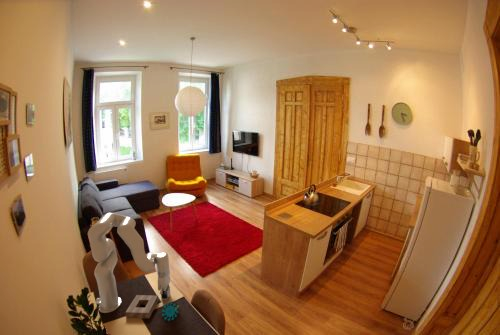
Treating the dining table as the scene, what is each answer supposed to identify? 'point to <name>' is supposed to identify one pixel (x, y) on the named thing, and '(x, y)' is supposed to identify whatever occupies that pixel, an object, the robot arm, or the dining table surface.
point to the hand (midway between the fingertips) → (165, 295)
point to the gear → (170, 311)
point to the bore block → (138, 312)
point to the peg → (167, 293)
